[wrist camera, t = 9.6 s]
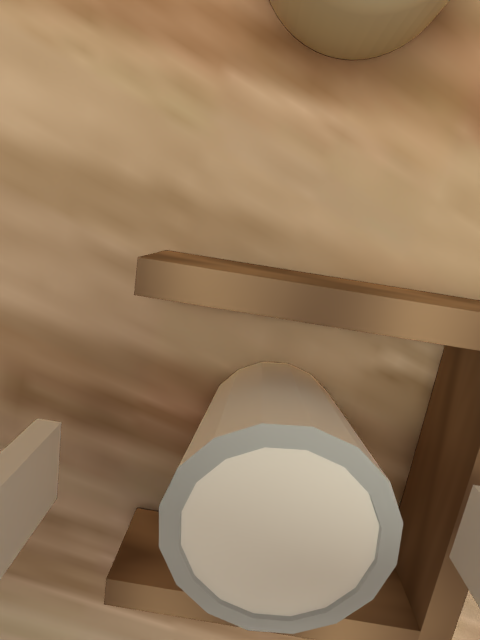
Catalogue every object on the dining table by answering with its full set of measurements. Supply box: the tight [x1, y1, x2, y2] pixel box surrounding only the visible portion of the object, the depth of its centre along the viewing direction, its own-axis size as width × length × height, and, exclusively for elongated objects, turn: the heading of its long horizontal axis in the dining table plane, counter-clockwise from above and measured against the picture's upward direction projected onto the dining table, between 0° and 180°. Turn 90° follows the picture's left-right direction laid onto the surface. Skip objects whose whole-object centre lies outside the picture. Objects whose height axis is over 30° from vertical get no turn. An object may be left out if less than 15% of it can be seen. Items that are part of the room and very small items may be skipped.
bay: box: [104, 250, 480, 640], centre depth 16 cm, size 13×13×4 cm
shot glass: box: [159, 362, 403, 634], centre depth 15 cm, size 7×7×7 cm
